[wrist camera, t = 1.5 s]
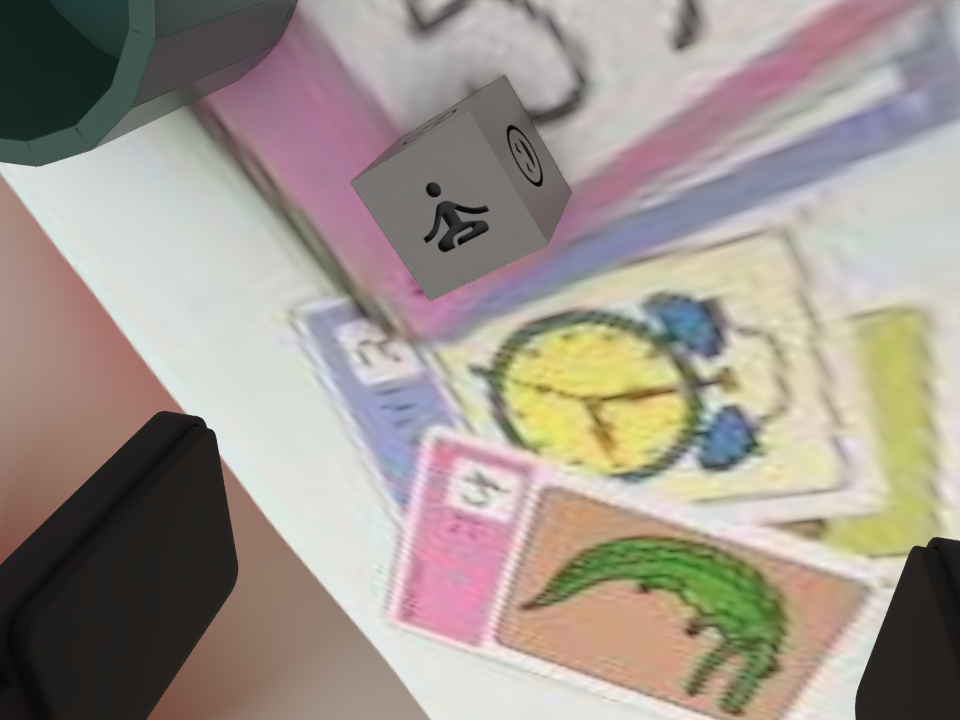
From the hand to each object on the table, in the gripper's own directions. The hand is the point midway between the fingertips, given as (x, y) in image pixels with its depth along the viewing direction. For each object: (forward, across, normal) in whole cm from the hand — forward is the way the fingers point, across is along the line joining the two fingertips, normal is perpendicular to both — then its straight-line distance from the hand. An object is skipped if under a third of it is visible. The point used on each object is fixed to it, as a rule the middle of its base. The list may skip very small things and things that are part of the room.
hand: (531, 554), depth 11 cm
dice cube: (+22, +6, +2) cm, 23 cm away
